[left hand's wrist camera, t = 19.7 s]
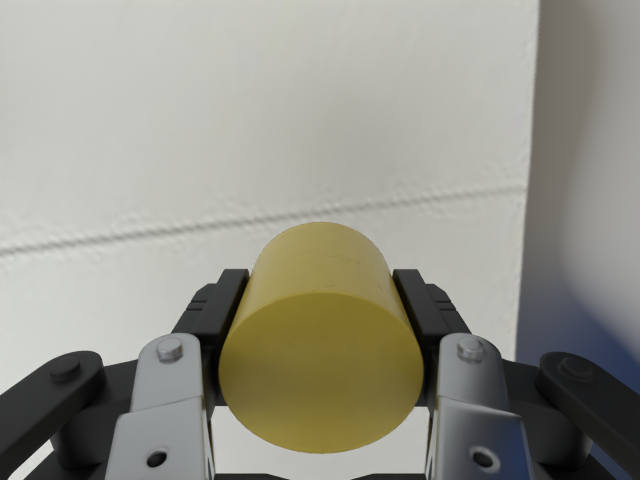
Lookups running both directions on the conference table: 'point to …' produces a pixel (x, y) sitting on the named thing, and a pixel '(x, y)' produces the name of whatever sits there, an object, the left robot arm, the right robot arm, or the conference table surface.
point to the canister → (321, 344)
